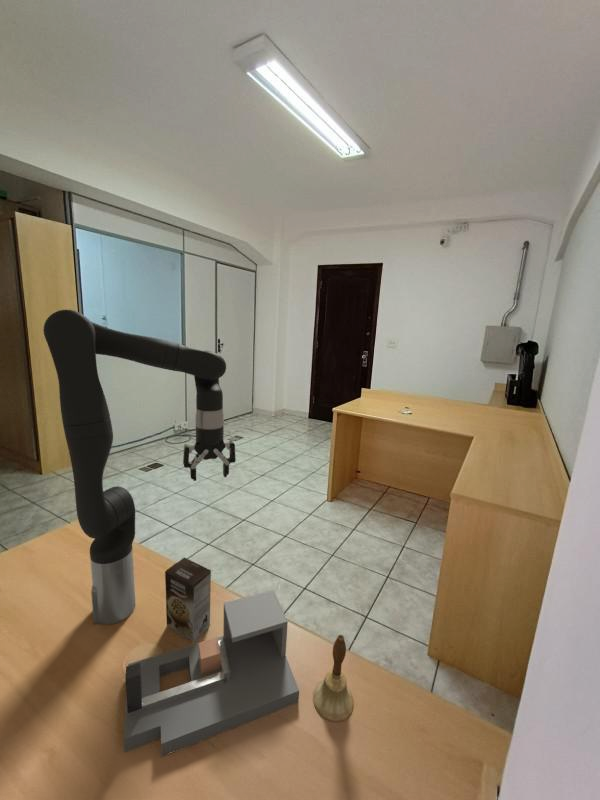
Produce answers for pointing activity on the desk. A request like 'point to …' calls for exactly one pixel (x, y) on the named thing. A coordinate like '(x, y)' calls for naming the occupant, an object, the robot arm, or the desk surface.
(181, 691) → the grey bar handle
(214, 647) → the block
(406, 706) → the desk surface
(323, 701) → the hand bell
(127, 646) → the desk surface
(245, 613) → the cubby
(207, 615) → the coffee box
